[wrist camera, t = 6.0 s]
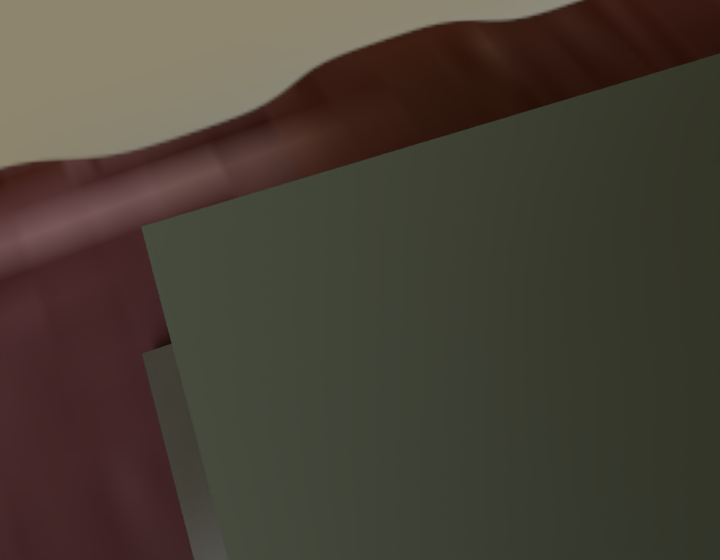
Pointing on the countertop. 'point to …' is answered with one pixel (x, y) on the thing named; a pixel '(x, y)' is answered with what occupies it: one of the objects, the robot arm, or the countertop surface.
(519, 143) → the plate
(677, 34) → the countertop surface
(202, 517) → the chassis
